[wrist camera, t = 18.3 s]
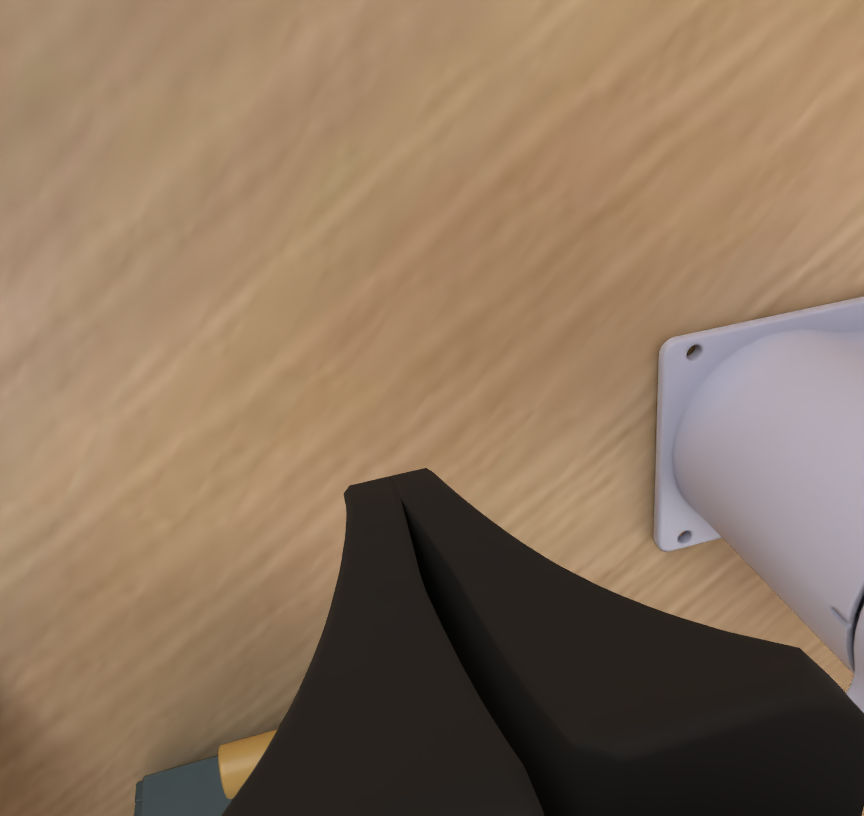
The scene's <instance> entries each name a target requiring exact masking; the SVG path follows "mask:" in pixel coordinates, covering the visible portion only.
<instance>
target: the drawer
mask: <svg viewBox="0 0 864 816" xmlns="http://www.w3.org/2000/svg"><path fill="white" fill-rule="evenodd" d="M277 730H278V729H277ZM277 730H273V731H270V732H266V733H262V734H259V735H255V736H252V737H248V738H245V739H241V740H237V741H234V742H230V743H227V744H223V745H221V746H219V749H218V756H215V757H211V758H207V759H204V760H200V761H197V762H193V763H190V764H186V765H183V766H179V767H175V768H172V769H168V770H165V771H161V772H158V773H154V774H151V775H147V776H145V777H144V779H143V792H142V807H141V816H221V815H222V813H223V812H224V811H225V809H226V808H227V806H228V805H229V804H230V802H231V801H232V799H233V798H234V797H235V795H236V794H237V792H238V791H239V789H240V788H241V787H242V785H243V784H244V782H245V781H246V780H247V778H248V777H249V775H250V774H251V773H252V771H253V770H254V768H255V767H256V765H257V763H258V762H259V760H260V759H261V757H262V756H263V754H264V752H265V750H266V749H267V747H268V745H269V743H270V742H271V740H272V738H273V736H274V735H275V733H276V731H277Z"/></svg>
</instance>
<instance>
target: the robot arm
mask: <svg viewBox="0 0 864 816" xmlns="http://www.w3.org/2000/svg"><path fill="white" fill-rule="evenodd" d="M693 345H696V347H695V350H694V351H693V353H692V354H690V355H688V356H687V351H688V349H689V348H690V347H691V346H693ZM344 498H345V503H346V512H347V518H346V533H345V542H344V548H343V554H342V561H341V567H340V572H339V576H338V580H337V584H336V588H335V592H334V596H333V600H332V604H331V607H330V611H329V614H328V617H327V620H326V624H325V627H324V629H323V632H322V635H321V638H320V641H319V643H318V646H317V649H316V651H315V654H314V656H313V659H312V661H311V663H310V666H309V668H308V670H307V672H306V675H305V677H304V679H303V681H302V684H301V686H300V688H299V690H298V692H297V694H296V696H295V698H294V700H293V703H292V704H291V706H290V708H289V710H288V712H287V714H286V716H285V717H284V719H283V721H282V723H281V724H280V726H279V728H278V730H277V731H276V733H275V735H274V736H273V738H272V740H271V742H270V743H269V745H268V747H267V749H266V750H265V752H264V754H263V756H262V757H261V759H260V760H259V762H258V763H257V765H256V767H255V768H254V770H253V771H252V773H251V774H250V775H249V777H248V778H247V780H246V781H245V782H244V784H243V785H242V787H241V788H240V789H239V791H238V792H237V794H236V795H235V797H234V798H233V799H232V801H231V802H230V804H229V805H228V806H227V808H226V809H225V811H224V812H223V813H222V815H221V816H862V811H863V807H864V296H862V297H858V298H853V299H848V300H844V301H839V302H834V303H830V304H825V305H820V306H816V307H811V308H806V309H802V310H797V311H792V312H788V313H783V314H778V315H774V316H769V317H764V318H760V319H755V320H750V321H746V322H741V323H736V324H732V325H727V326H722V327H718V328H713V329H708V330H704V331H699V332H694V333H690V334H685V335H680V336H675V337H672V338H670V339H668V340H667V341H666V342H665V343H663V345H662V347H661V348H660V352H659V363H658V398H657V432H656V466H655V501H654V535H653V539H654V542H655V544H656V545H657V546H658V547H659V548H660V549H661V550H662V551H665V552H667V551H673V550H677V549H681V548H684V547H688V546H692V545H696V544H700V543H704V542H707V541H711V540H715V539H719V538H723V539H724V540H725V541H726V542H727V543H728V544H729V545H730V546H731V547H732V548H733V550H734V551H735V552H736V553H737V554H738V555H739V556H740V557H741V558H742V559H743V560H744V561H745V562H746V563H747V564H748V565H749V566H750V567H751V568H752V569H753V570H754V571H755V572H756V573H757V574H758V575H759V576H760V578H761V579H762V580H763V581H764V582H765V583H766V584H767V585H768V586H769V587H770V588H771V589H772V590H773V591H774V592H775V593H776V594H777V595H778V596H779V597H780V598H781V599H782V600H783V601H784V602H785V603H786V605H787V606H788V607H789V608H790V609H791V610H792V611H793V612H794V613H795V614H796V615H797V616H798V617H799V618H800V619H801V620H802V621H803V622H804V623H805V624H806V625H807V626H808V627H809V628H810V629H811V630H812V632H813V633H814V634H815V635H816V636H817V637H818V638H819V639H820V640H821V641H822V642H823V643H824V644H825V645H826V646H827V647H828V648H829V649H830V650H831V651H832V652H833V653H834V654H835V655H836V656H837V657H838V658H839V660H840V661H841V662H842V663H843V664H844V665H845V666H846V667H847V668H848V669H849V670H850V671H851V672H852V673H853V674H854V676H853V679H852V682H851V684H850V687H849V688H848V690H847V692H846V693H845V692H844V691H843V690H842V689H841V687H840V686H839V685H838V684H837V683H836V682H835V681H834V680H833V679H832V678H831V677H830V676H829V675H828V674H827V673H826V672H825V671H824V670H823V669H822V668H821V667H820V666H818V665H817V664H816V663H815V662H814V661H813V660H812V659H811V658H810V657H809V656H808V655H807V654H806V653H804V652H803V651H802V650H801V649H800V648H797V647H792V646H788V645H784V644H779V643H775V642H770V641H766V640H761V639H757V638H753V637H748V636H744V635H739V634H735V633H731V632H727V631H723V630H719V629H716V628H713V627H709V626H706V625H703V624H699V623H696V622H693V621H689V620H686V619H683V618H680V617H677V616H674V615H671V614H668V613H665V612H662V611H659V610H657V609H654V608H651V607H648V606H646V605H643V604H641V603H639V602H636V601H634V600H631V599H629V598H626V597H624V596H621V595H619V594H616V593H614V592H612V591H609V590H607V589H605V588H603V587H600V586H598V585H596V584H594V583H592V582H590V581H588V580H586V579H584V578H582V577H580V576H578V575H576V574H574V573H572V572H570V571H569V570H567V569H565V568H563V567H561V566H559V565H557V564H555V563H554V562H552V561H550V560H549V559H547V558H545V557H544V556H542V555H541V554H539V553H537V552H536V551H534V550H533V549H531V548H530V547H528V546H526V545H525V544H523V543H522V542H520V541H519V540H518V539H516V538H515V537H513V536H512V535H510V534H509V533H507V532H506V531H505V530H503V529H502V528H501V527H499V526H498V525H497V524H495V523H494V522H493V521H491V520H490V519H488V518H487V517H486V516H484V515H483V514H482V513H481V512H479V511H478V510H477V509H475V508H474V507H473V506H472V505H470V504H469V503H468V502H467V501H466V500H464V499H463V498H462V497H461V496H460V495H458V494H457V493H456V492H455V491H454V490H452V489H451V488H450V487H449V486H448V485H447V484H446V483H444V482H443V481H442V480H441V479H440V478H439V477H438V476H437V475H436V474H434V473H433V472H432V471H430V470H429V469H427V468H424V469H420V470H415V471H411V472H407V473H402V474H398V475H394V476H389V477H385V478H381V479H376V480H372V481H368V482H363V483H359V484H355V485H350V486H349V487H348V489H347V490H346V491H345V492H344ZM684 531H685V532H684ZM682 532H684V534H683V535H681V536H679V535H680V534H681V533H682Z"/></svg>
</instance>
